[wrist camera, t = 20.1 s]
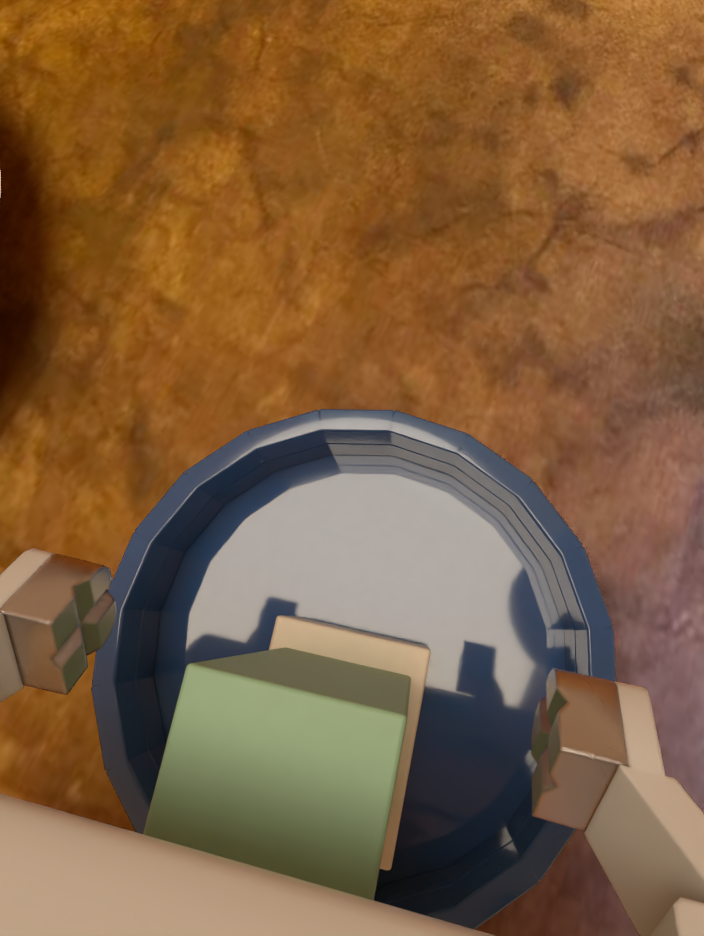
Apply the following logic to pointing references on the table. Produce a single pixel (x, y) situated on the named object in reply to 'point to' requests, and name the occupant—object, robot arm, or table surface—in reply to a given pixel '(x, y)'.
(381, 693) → the green block on base
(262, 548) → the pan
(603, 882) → the table surface
